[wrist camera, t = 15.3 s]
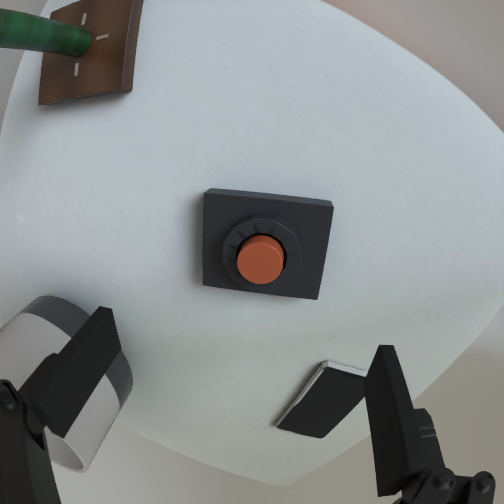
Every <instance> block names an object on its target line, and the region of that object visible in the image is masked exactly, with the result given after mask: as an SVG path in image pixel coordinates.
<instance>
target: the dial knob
mask: <svg viewBox="0 0 504 504" xmlns="http://www.w3.org/2000/svg"><path fill="white" fill-rule="evenodd" d="M91 39H92V37H91V33H90V32H89V31H88V30H85V29H82V28H79V27H76V26H73V25H69V24H66V23H62V22H59V21H55V20H52V19H48V18H44V17H40V16H36V15H32V14H27V13H22V12H18V11H13V10H7V9H2V8H1V9H0V47H1V48H12V49H23V50H30V51H38V52H45V53H52V54H58V55H64V56H69V57H74V58H76V57H80V56H81V55H83V54H84V53H85V52H86V51H87V50H88V48H89V46H90V44H91Z"/></svg>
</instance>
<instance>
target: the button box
mask: <svg viewBox="0 0 504 504" xmlns="http://www.w3.org/2000/svg"><path fill="white" fill-rule="evenodd" d="M333 210H334V206H333V204H332V202H331V201H327V200H320V199H312V198H304V197H296V196H287V195H278V194H269V193H259V192H249V191H238V190H226V189H214V188H210V189H209V190H208V191H206V192H205V193H204V207H203V285H204V286H211V287H218V288H225V289H233V290H240V291H247V292H255V293H263V294H271V295H279V296H287V297H296V298H304V299H313V300H317V299H318V294H319V289H320V284H321V279H322V274H323V269H324V263H325V258H326V252H327V247H328V241H329V235H330V229H331V223H332V216H333ZM258 235H264V236H268V237H271V238H273V239H274V240H276V241H277V242H278V243H279V244H280V246H281V248H282V250H283V255H284V256H283V267H282V271H281V273H280V275H279V276H278V277H277V278H276V279H275V280H273V281H272V282H269V283H266V284H256V283H252V282H250V281H248V280H247V279H245V278H244V277H243V276H242V275H241V273H240V272H239V270H238V267H237V258H238V255H239V252H240V250H241V248H242V246H243V244H244V243H245V242H246V241H247V240H248V239H249V238H251V237H254V236H258Z"/></svg>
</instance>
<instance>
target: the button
mask: <svg viewBox="0 0 504 504" xmlns="http://www.w3.org/2000/svg"><path fill="white" fill-rule="evenodd" d="M283 256H284V255H283V250H282V248H281V246H280V244H279V243H278V242H277V241H276V240H274V239H273V238H271V237H268V236H264V235H258V236H254V237H251V238H249V239H248V240H247V241H246V242H245V243H244V244H243V246H242V248H241V250H240V252H239V255H238V258H237V267H238V270H239V272H240V273H241V275H242V276H243V277H244V278H245V279H247V280H248V281H250V282H252V283H256V284H266V283H269V282H272V281H273V280H275V279H276V278H277V277H278V276H279V275H280V273H281V271H282V267H283Z"/></svg>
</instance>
